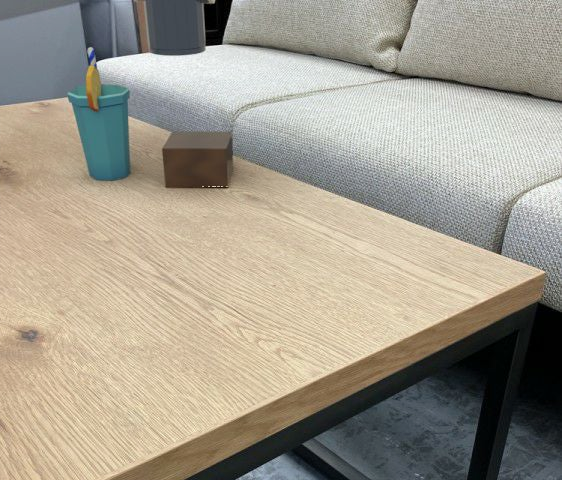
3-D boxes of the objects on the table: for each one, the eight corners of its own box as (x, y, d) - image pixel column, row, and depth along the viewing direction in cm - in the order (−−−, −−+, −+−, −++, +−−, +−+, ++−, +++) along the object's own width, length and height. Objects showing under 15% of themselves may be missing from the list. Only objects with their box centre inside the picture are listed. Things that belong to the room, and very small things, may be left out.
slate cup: (144, 55, 78) (133, -49, 73) (154, 45, 84) (145, -52, 78) (202, 55, 78) (195, -49, 72) (208, 45, 83) (203, -53, 78)
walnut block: (165, 187, 90) (161, 148, 87) (175, 168, 96) (172, 131, 93) (227, 188, 89) (226, 148, 87) (233, 168, 96) (231, 131, 93)
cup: (77, 160, 99) (58, 44, 91) (132, 155, 101) (118, 41, 93) (83, 191, 88) (62, 63, 80) (145, 185, 90) (130, 59, 82)
